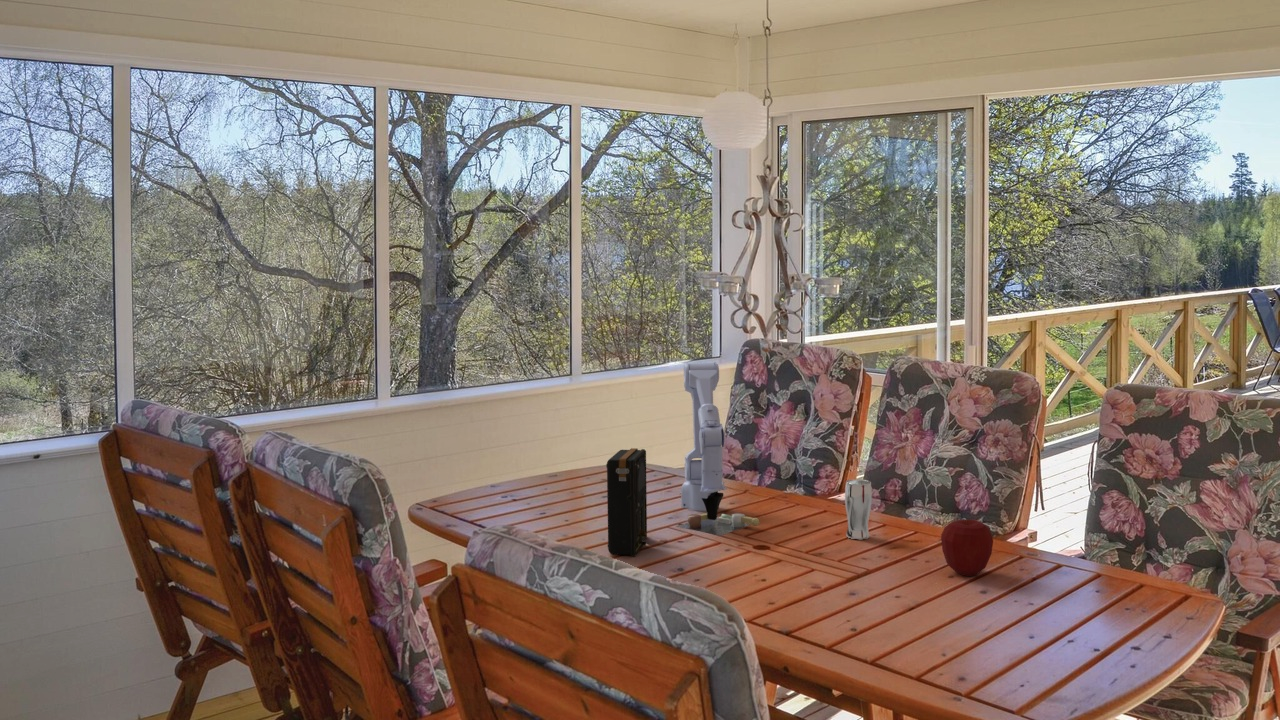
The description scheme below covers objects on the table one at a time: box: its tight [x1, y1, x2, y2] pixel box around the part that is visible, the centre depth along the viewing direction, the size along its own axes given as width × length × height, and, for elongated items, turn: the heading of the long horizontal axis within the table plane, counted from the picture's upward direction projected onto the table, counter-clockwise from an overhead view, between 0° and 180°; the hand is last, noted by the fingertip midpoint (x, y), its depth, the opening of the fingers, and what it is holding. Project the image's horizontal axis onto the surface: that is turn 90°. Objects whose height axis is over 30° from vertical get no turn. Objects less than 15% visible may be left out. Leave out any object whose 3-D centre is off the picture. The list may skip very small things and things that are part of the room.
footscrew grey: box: [731, 513, 760, 529], centre depth 279 cm, size 9×4×3 cm, turn 45°
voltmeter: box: [606, 447, 648, 557], centre depth 263 cm, size 16×9×25 cm, turn 168°
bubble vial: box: [717, 513, 732, 524], centre depth 285 cm, size 4×2×2 cm, turn 49°
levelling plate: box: [675, 517, 750, 537], centre depth 281 cm, size 15×14×1 cm
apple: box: [940, 517, 994, 577], centre depth 240 cm, size 12×12×13 cm
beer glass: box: [844, 478, 873, 541], centre depth 272 cm, size 7×7×15 cm
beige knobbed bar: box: [687, 512, 709, 528], centre depth 282 cm, size 9×4×3 cm, turn 123°
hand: (712, 519), depth 281 cm, fingers closed, pressing on beige knobbed bar
